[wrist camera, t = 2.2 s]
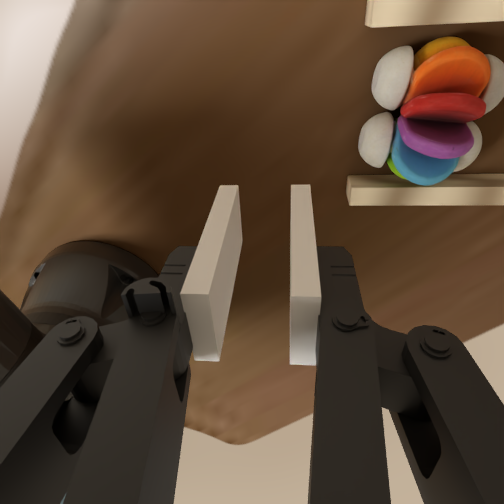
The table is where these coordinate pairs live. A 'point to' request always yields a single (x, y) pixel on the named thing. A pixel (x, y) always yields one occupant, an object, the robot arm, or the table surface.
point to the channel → (455, 185)
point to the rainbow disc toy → (431, 109)
